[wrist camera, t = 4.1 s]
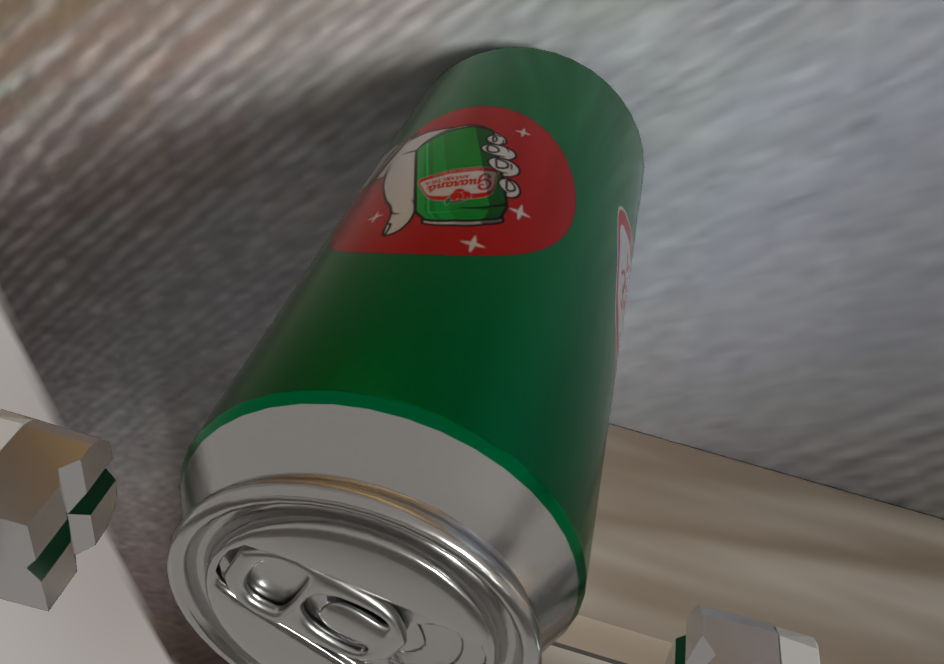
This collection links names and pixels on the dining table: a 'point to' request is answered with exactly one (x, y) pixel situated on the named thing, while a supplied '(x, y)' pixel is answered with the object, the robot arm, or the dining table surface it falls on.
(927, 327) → the dining table surface
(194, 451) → the soda can
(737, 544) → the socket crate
